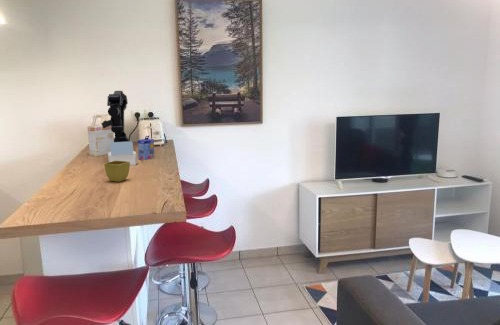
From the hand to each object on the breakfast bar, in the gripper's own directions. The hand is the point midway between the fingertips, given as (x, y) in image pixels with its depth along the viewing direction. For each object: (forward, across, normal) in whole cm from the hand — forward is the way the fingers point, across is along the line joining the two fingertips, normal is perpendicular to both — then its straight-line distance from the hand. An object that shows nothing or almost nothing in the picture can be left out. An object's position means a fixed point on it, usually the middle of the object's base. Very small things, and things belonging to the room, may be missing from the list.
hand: (117, 141), depth 247 cm
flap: (+5, +18, +2) cm, 18 cm away
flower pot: (+12, +54, -1) cm, 55 cm away
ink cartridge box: (+12, -2, +17) cm, 21 cm away
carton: (+12, +11, +2) cm, 16 cm away
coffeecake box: (+12, -28, -10) cm, 32 cm away
